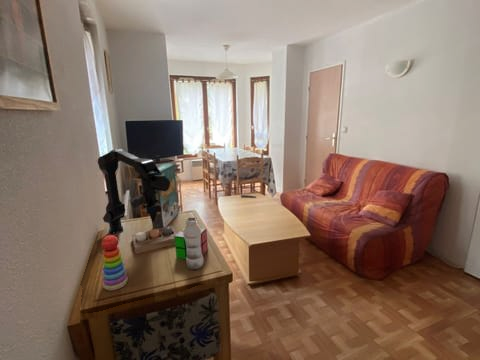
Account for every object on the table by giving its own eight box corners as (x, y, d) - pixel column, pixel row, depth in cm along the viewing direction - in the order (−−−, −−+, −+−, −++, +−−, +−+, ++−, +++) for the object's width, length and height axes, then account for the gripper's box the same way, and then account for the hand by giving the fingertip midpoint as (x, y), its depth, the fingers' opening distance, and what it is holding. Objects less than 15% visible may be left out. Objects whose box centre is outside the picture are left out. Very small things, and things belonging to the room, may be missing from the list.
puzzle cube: (208, 249, 112) (206, 228, 109) (197, 261, 103) (195, 239, 100) (188, 246, 115) (186, 225, 113) (176, 257, 106) (173, 236, 103)
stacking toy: (112, 294, 85) (102, 244, 80) (98, 286, 89) (89, 238, 85) (132, 281, 92) (125, 234, 87) (119, 274, 96) (111, 229, 91)
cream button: (136, 239, 118) (135, 233, 117) (145, 237, 119) (145, 231, 119) (137, 243, 114) (136, 237, 113) (147, 241, 116) (146, 234, 115)
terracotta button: (149, 236, 120) (149, 230, 119) (159, 234, 122) (158, 228, 121) (151, 240, 117) (150, 233, 116) (160, 238, 118) (159, 231, 118)
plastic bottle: (200, 272, 96) (196, 223, 90) (183, 270, 97) (179, 222, 92) (206, 262, 102) (202, 216, 97) (190, 261, 103) (186, 215, 98)
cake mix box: (169, 212, 155) (164, 164, 147) (178, 212, 154) (174, 164, 146) (152, 228, 134) (145, 172, 126) (163, 228, 133) (157, 173, 125)
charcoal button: (162, 233, 123) (162, 227, 122) (171, 231, 125) (170, 225, 124) (164, 237, 119) (163, 230, 118) (173, 234, 121) (172, 228, 120)
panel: (132, 240, 122) (131, 234, 121) (172, 231, 130) (171, 225, 129) (135, 253, 110) (135, 247, 109) (179, 242, 118) (178, 236, 117)
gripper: (127, 186, 118) (132, 217, 122) (131, 197, 102) (136, 233, 106) (152, 182, 123) (156, 212, 127) (159, 192, 107) (163, 227, 111)
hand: (152, 220), depth 117 cm, fingers closed
